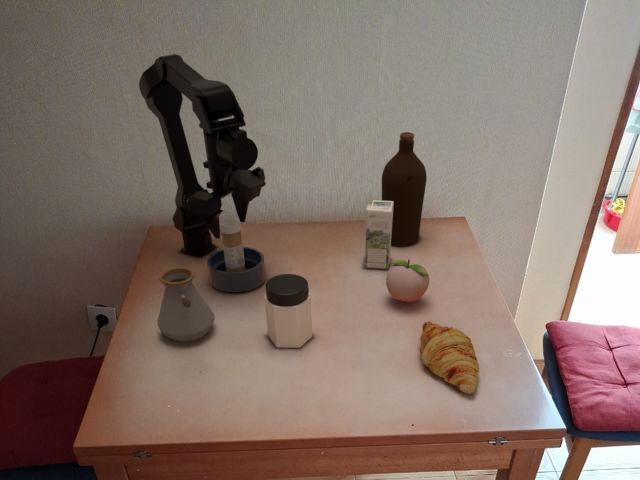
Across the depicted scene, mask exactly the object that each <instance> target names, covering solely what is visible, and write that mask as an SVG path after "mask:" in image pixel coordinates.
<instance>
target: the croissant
mask: <svg viewBox="0 0 640 480" xmlns="http://www.w3.org/2000/svg"><path fill="white" fill-rule="evenodd" d="M419 340H420V354H421V356H420V359H421V362H422V363H423V364H424V366H426V367H427V368H428V369H429V371H431V373H433V374H434V375H436V376H438V377H440V378H443V381H444V382H446V383H448V384H451V385H453V386H456V388H457V389H458V390H459V391H461V392H463V393H465V394H473V393H474V392H475V391H477V390H476V389H477V387H478V384H479V374H480V366H479V365H480V364H479V361H478V358H477V357H476V349H475V348H474V344H473V343H472V340H471V338H470V337H469V336H468V335H467V334H466V333H464V332H463V331H461V330H460V329H459V328H455V327H454V328H453V326H452V327H451V326H450V327H448V326H442V325H440V324H437V323H432V321H424V323H423V324H422V333H421V335H420V339H419Z"/></svg>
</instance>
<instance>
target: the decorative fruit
mask: <svg viewBox="0 0 640 480" xmlns="http://www.w3.org/2000/svg"><path fill="white" fill-rule="evenodd" d="M410 262H411V260H410V259H408V260H407V261H406V260H404V259H395V260H390V262H389V265H391V267H390V268H388V271H387V273H386V278H385V284H386V289H387V291H388V293H389V294H390V295H391V297H393V298H394V299H395V300H398V301H403V302H404V303H410V302H411V303H412V302H415V301H417V300H419V299H420V298H422V297H423V296H424V295H425V294H426V292H427V291H428V289H429V286H430V275H429V272H428V271H427V269H426V268H425V267H424V266H422V265H421V264H418V263H410Z"/></svg>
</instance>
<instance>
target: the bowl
mask: <svg viewBox="0 0 640 480" xmlns="http://www.w3.org/2000/svg"><path fill="white" fill-rule="evenodd" d="M243 251H244V260H245V271H241V272H227V269H226V264H225V257H224V250H223V248H222V249H220V250H215V252H213V253H212V254H210V255H209V257H208V258H207V260H206V267H207V272H208V279H209V283H210V284H211V286H212V287H213V288H215V289H216V290H219V291H222V292H227V293H243V292H247V291H251V290H253V289H256V288H258V287H260V286H261V285H262V284H263V283H265V280H266V279H267V275H266V266H265V265H266V263H265V255H264V254H263V252H261V251H260V250H258V249H256V248H253V247H249V246H243Z"/></svg>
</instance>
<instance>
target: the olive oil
mask: <svg viewBox="0 0 640 480" xmlns="http://www.w3.org/2000/svg"><path fill="white" fill-rule="evenodd" d="M414 139H415V134H414V133H413V132H409V131H405V132H401V133H400V134H399V140H398V151H397V152H396V153H395V154H394V156H392V158H390V160H388V162H387V163H386V164H385V165H384V168H383V170H382V174H381V201H393V202H394V206H393V221H392V234H391V246H393V247H408V246H411V245H414V244H416V243H417V242H418V241H419V238H420V231H421V221H422V213H423V207H424V200H425V193H426V186H427V180H428V179H427V178H428V177H427V175H428V174H427V170H426V166H425V165H424V163H423V161H422V160H421V159H420V158H419V157H418V155H416V153H415V151H414V146H415V140H414Z"/></svg>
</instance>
